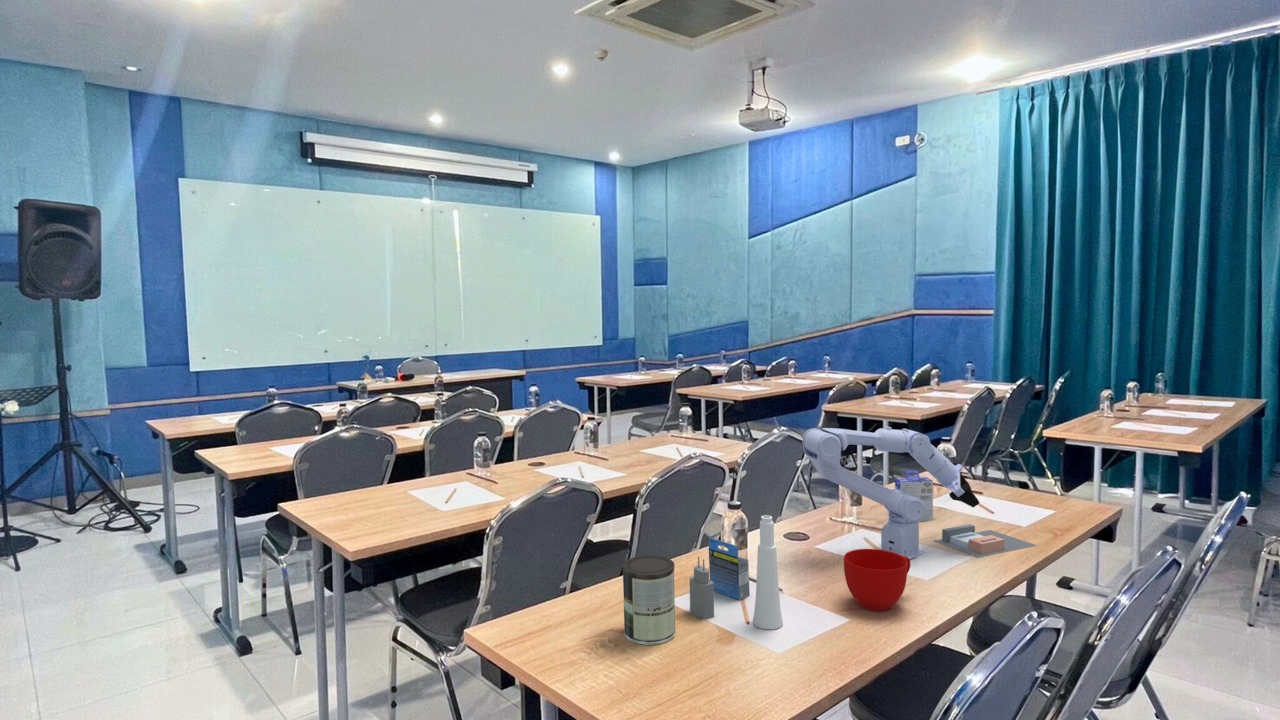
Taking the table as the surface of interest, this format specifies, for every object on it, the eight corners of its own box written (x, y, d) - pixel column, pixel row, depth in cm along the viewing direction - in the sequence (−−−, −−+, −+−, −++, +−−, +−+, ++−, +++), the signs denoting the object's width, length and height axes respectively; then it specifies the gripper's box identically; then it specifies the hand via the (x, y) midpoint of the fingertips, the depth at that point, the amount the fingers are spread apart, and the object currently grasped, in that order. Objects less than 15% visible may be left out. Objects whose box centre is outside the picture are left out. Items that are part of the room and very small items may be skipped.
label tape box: (750, 595, 156) (749, 541, 155) (738, 601, 153) (738, 546, 152) (720, 585, 162) (719, 533, 162) (708, 590, 160) (707, 537, 159)
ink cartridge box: (927, 516, 212) (927, 469, 211) (934, 521, 206) (934, 473, 205) (893, 516, 212) (894, 469, 211) (900, 522, 206) (900, 473, 205)
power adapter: (700, 607, 151) (699, 552, 150) (715, 616, 146) (714, 560, 145) (688, 610, 149) (687, 555, 148) (703, 620, 144) (702, 563, 143)
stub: (981, 554, 177) (981, 543, 177) (968, 549, 181) (968, 539, 181) (1004, 549, 181) (1004, 539, 180) (991, 544, 184) (991, 534, 184)
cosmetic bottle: (775, 632, 138) (774, 522, 136) (747, 625, 141) (746, 518, 140) (787, 621, 143) (786, 515, 141) (760, 614, 146) (759, 510, 145)
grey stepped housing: (964, 549, 181) (965, 537, 181) (942, 541, 188) (942, 529, 188) (993, 543, 185) (993, 531, 185) (969, 535, 192) (969, 524, 192)
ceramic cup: (933, 604, 149) (933, 558, 149) (877, 623, 141) (877, 574, 140) (885, 584, 161) (885, 541, 160) (830, 600, 152) (830, 555, 152)
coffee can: (613, 636, 138) (611, 566, 137) (645, 617, 146) (644, 551, 145) (654, 651, 132) (652, 577, 131) (686, 631, 140) (684, 561, 139)
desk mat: (977, 559, 175) (977, 557, 175) (933, 542, 188) (933, 540, 188) (1037, 546, 183) (1037, 545, 183) (990, 531, 196) (990, 529, 196)
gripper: (958, 469, 173) (993, 503, 175) (941, 440, 186) (974, 472, 189) (935, 486, 175) (970, 519, 178) (919, 457, 189) (953, 487, 191)
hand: (971, 496), depth 184 cm, fingers open, 7 cm apart
